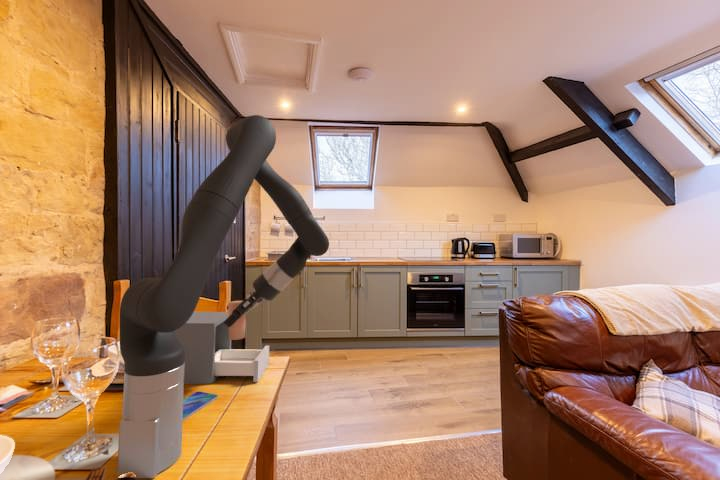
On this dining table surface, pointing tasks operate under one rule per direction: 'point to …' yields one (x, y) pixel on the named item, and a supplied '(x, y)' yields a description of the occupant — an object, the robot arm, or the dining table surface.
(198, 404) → the smartphone
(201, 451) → the dining table surface
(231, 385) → the dining table surface
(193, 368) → the cabinet
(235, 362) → the drawer
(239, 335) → the tan rounded cylinder
